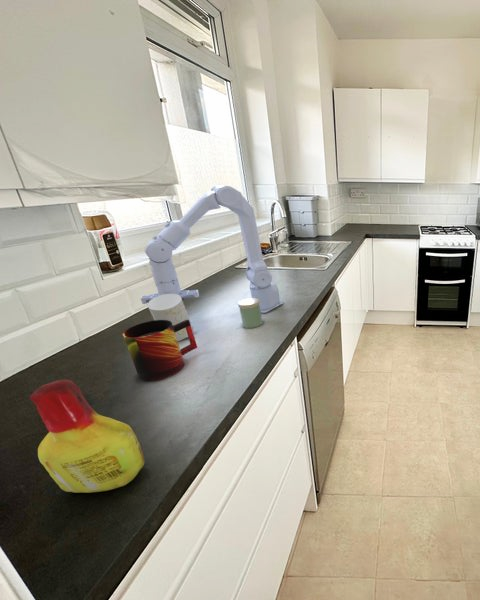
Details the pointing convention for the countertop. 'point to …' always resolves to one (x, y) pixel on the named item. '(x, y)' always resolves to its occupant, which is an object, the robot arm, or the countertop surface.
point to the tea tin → (250, 312)
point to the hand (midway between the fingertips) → (177, 320)
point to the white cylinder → (170, 311)
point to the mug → (157, 348)
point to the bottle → (84, 442)
